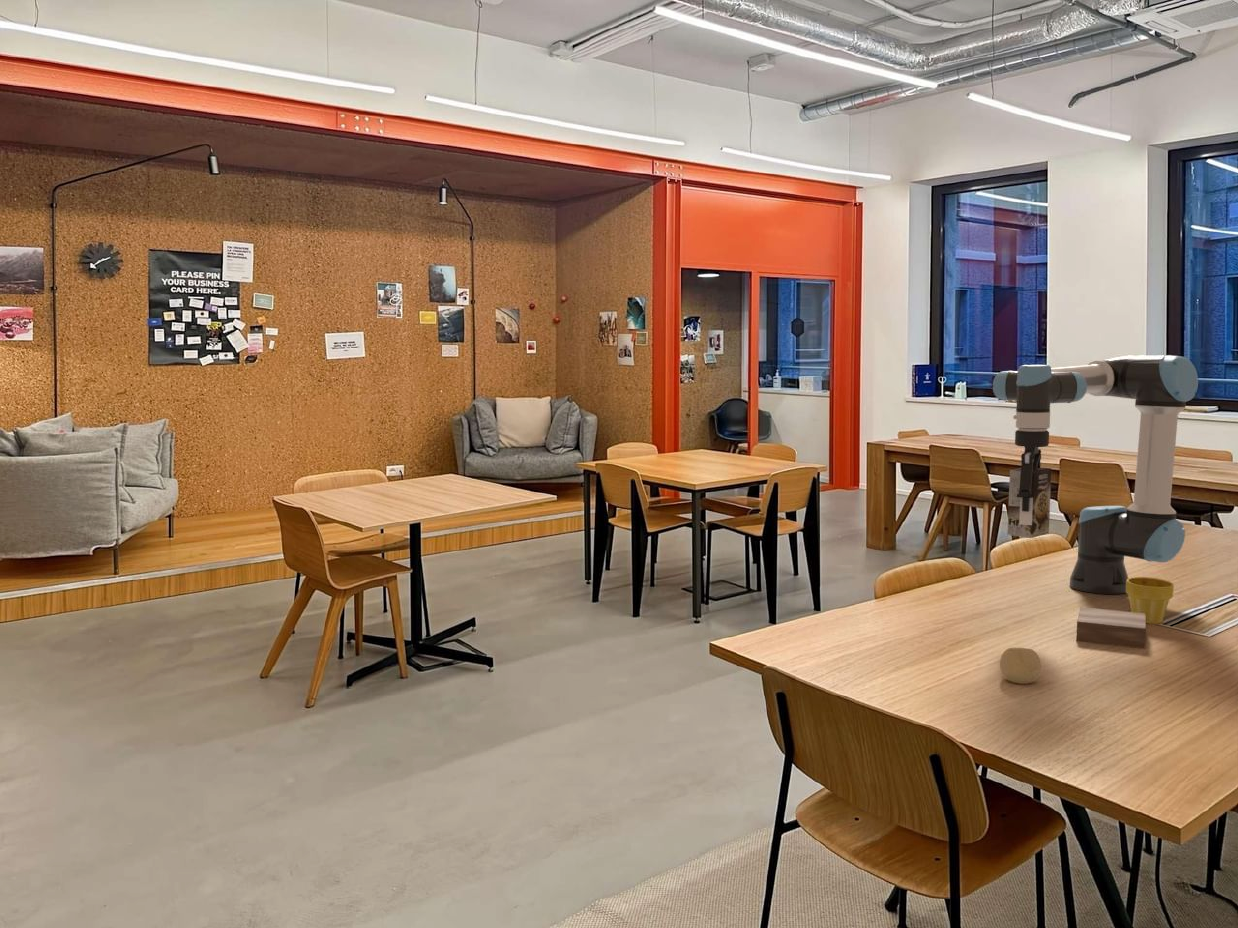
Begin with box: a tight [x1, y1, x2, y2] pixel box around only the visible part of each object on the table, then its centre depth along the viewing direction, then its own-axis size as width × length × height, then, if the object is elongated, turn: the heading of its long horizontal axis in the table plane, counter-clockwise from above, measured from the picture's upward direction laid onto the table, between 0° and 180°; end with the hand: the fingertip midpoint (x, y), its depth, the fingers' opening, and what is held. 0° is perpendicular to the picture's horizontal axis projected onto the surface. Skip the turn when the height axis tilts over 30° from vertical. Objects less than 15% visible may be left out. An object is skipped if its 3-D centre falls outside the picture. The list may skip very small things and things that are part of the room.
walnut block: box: [1075, 606, 1147, 650], centre depth 232 cm, size 14×14×5 cm
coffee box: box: [1006, 467, 1052, 539], centre depth 239 cm, size 9×6×16 cm
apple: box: [999, 647, 1042, 685], centre depth 202 cm, size 8×8×8 cm
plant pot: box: [1125, 576, 1175, 625], centre depth 244 cm, size 10×10×10 cm
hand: (1029, 520), depth 240 cm, fingers closed on coffee box, 10 cm apart
